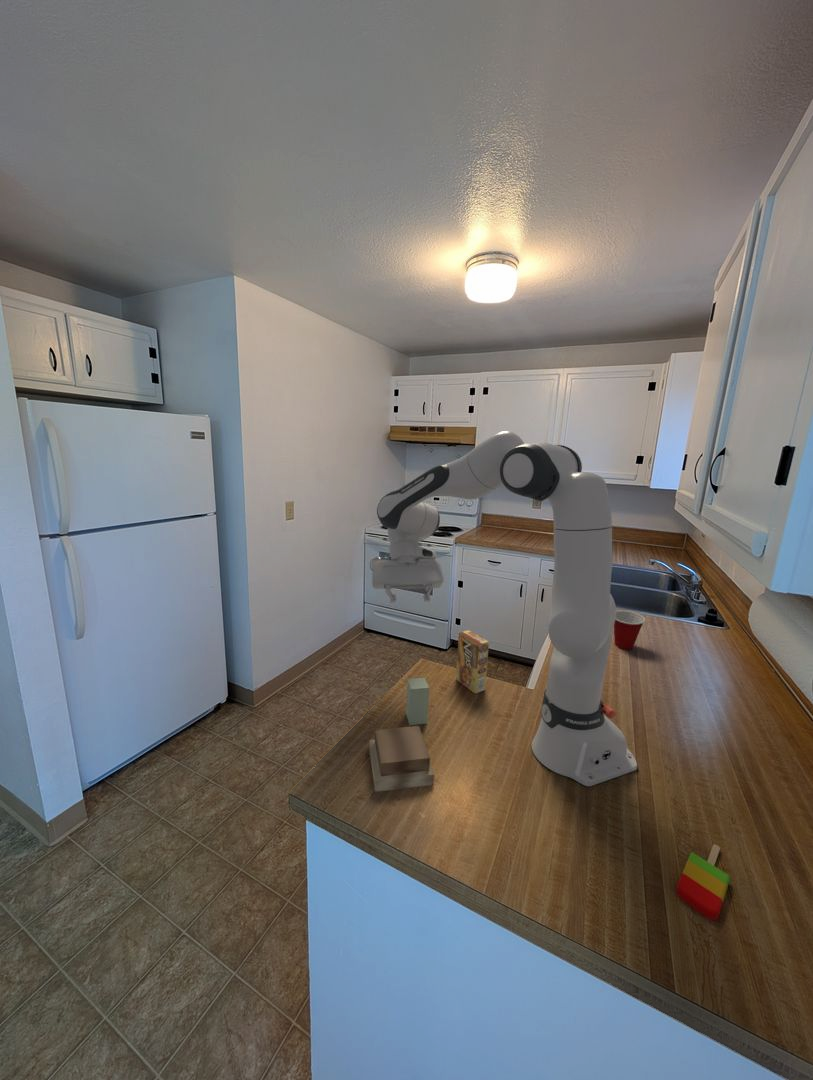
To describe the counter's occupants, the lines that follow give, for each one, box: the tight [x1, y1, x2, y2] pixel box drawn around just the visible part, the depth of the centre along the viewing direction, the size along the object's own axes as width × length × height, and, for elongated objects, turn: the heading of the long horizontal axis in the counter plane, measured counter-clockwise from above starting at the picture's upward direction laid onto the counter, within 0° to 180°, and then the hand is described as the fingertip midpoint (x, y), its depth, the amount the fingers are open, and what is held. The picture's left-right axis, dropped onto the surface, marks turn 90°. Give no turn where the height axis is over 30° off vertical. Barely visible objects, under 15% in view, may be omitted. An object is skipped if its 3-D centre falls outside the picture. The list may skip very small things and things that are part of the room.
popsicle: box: [675, 843, 731, 921], centre depth 67 cm, size 6×15×2 cm, turn 133°
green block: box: [405, 677, 430, 726], centre depth 103 cm, size 4×4×10 cm
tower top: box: [374, 725, 431, 776], centre depth 87 cm, size 10×10×3 cm
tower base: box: [368, 738, 435, 792], centre depth 88 cm, size 12×12×3 cm
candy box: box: [455, 629, 490, 695], centre depth 118 cm, size 9×4×15 cm, turn 34°
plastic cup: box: [613, 610, 646, 651], centre depth 147 cm, size 11×11×12 cm
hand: (410, 601), depth 111 cm, fingers open, 8 cm apart
